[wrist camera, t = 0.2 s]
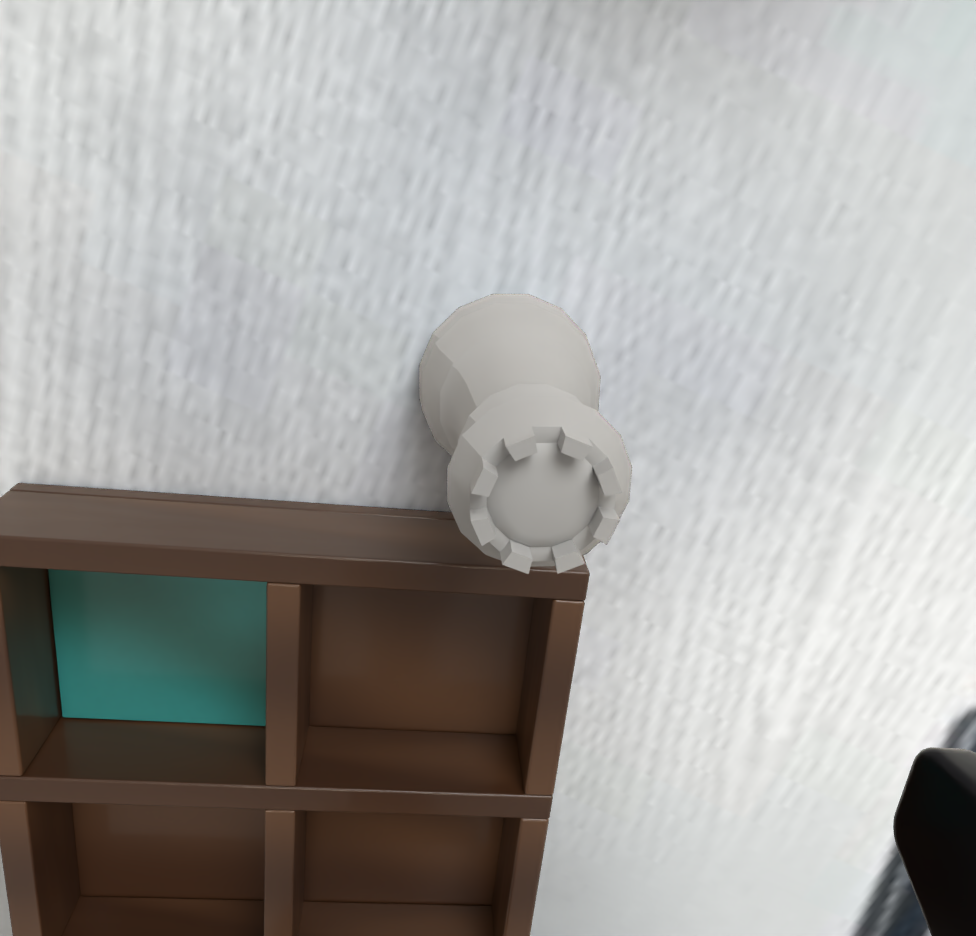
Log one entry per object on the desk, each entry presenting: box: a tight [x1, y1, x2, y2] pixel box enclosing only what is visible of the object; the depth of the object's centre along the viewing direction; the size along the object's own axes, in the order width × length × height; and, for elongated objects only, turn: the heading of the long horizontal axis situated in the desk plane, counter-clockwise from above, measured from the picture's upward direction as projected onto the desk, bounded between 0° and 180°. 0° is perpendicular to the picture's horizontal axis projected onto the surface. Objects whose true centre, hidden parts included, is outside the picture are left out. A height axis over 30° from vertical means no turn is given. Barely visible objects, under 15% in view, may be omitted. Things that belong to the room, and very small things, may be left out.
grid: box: [0, 483, 590, 936], centre depth 23 cm, size 14×14×3 cm
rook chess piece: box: [419, 294, 632, 574], centre depth 17 cm, size 4×4×8 cm
